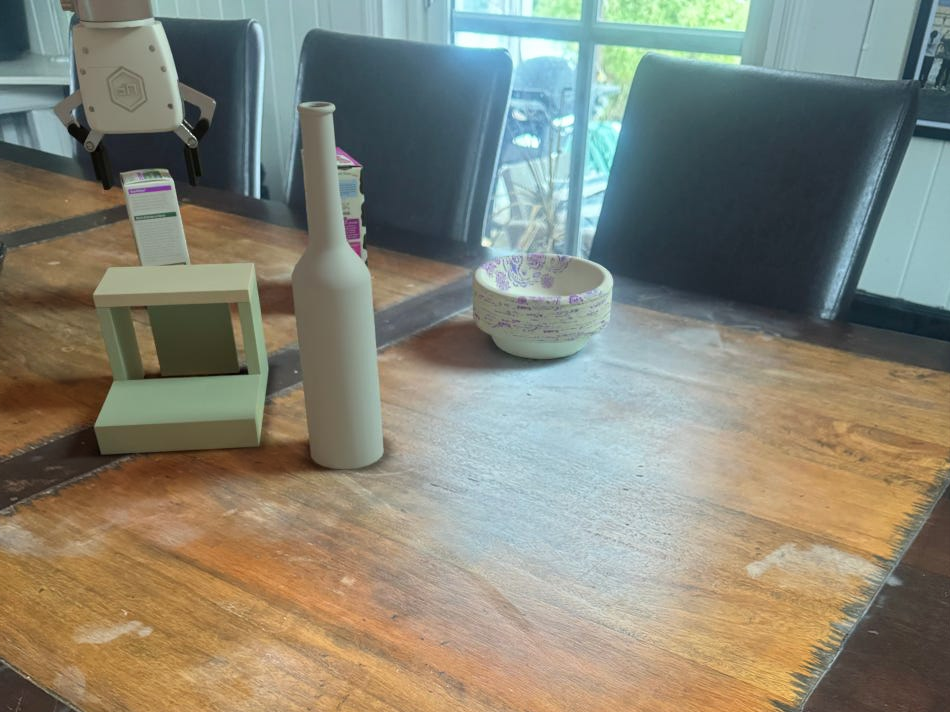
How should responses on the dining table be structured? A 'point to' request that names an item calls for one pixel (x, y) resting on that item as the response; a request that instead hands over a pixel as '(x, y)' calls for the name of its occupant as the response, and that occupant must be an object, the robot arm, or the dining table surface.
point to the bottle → (334, 315)
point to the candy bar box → (349, 201)
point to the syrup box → (155, 217)
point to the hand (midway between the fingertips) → (152, 185)
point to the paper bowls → (541, 303)
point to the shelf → (182, 359)
